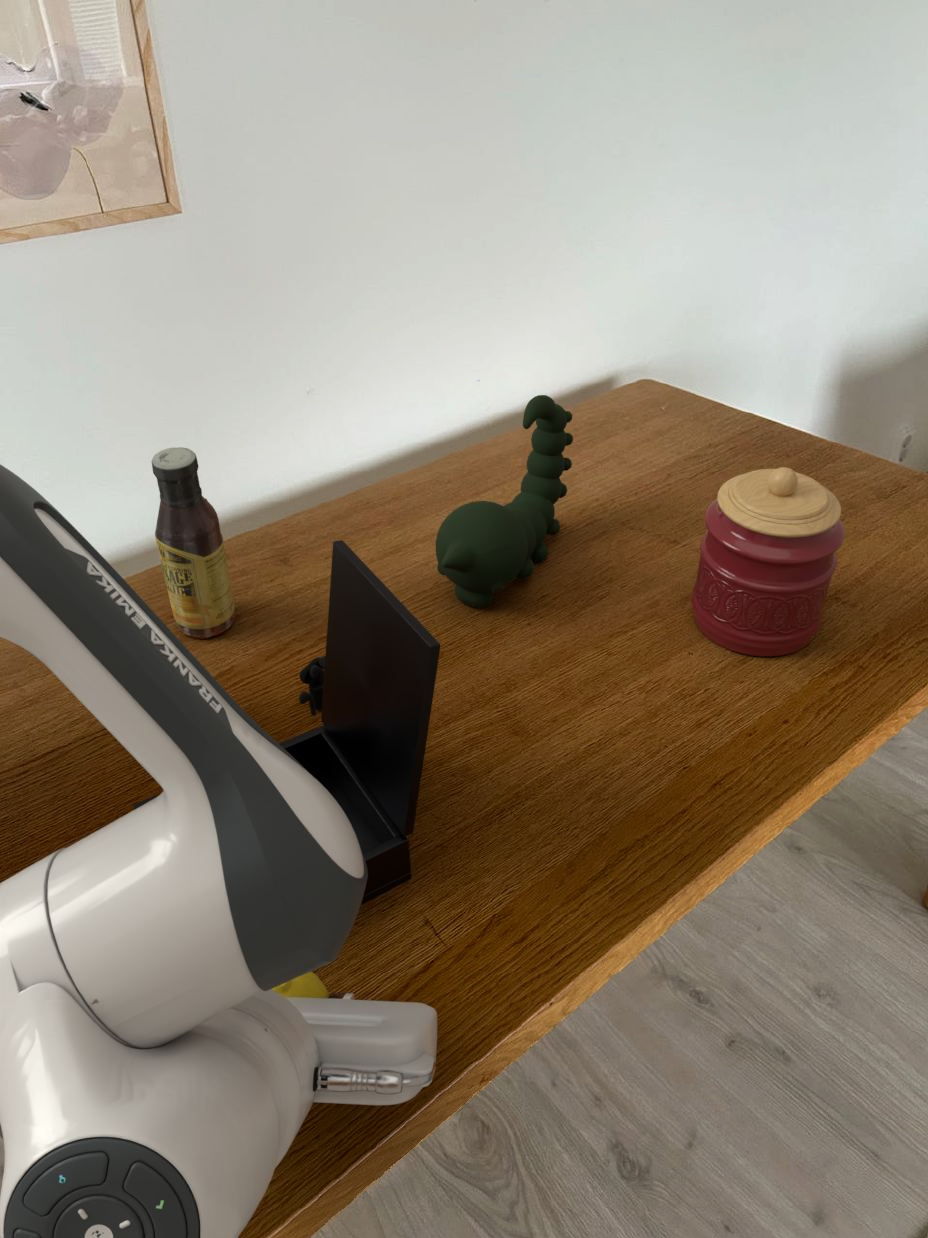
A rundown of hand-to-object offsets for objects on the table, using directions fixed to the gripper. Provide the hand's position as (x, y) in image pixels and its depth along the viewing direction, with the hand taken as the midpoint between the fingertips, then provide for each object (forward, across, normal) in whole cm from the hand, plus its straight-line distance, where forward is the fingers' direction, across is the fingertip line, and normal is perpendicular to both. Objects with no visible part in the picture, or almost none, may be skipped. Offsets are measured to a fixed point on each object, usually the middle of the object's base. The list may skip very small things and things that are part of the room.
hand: (290, 1003), depth 64 cm
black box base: (+13, +4, -7) cm, 16 cm away
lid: (+7, -3, -21) cm, 22 cm away
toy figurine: (+42, -13, -35) cm, 56 cm away
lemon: (+3, 0, +4) cm, 5 cm away
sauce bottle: (+34, +18, -28) cm, 48 cm away
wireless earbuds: (+27, +4, -20) cm, 34 cm away
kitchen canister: (+37, -39, -30) cm, 61 cm away
